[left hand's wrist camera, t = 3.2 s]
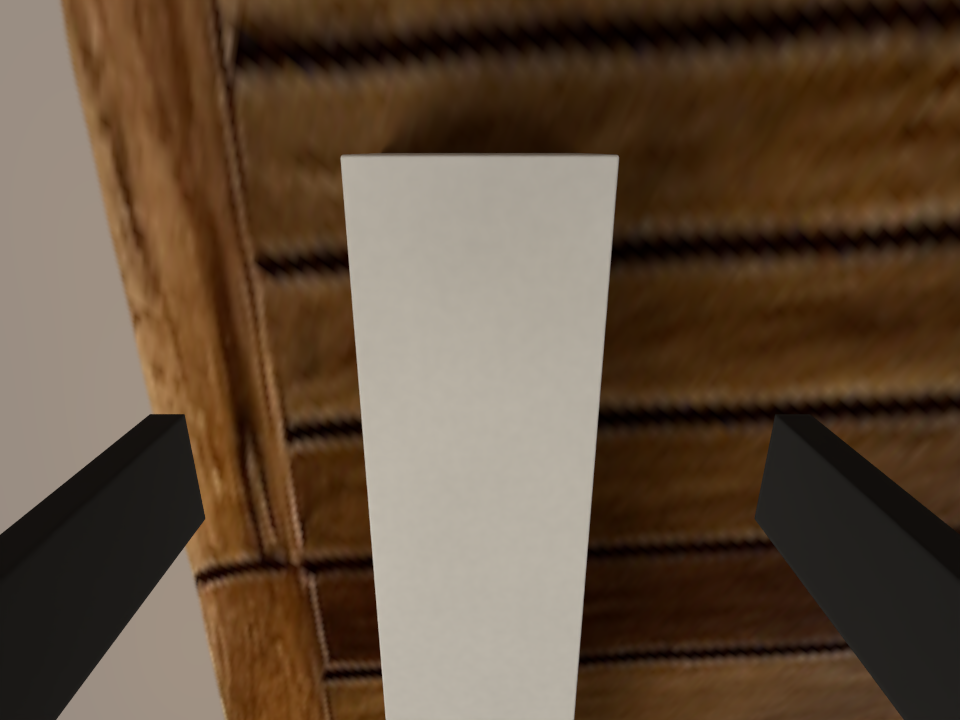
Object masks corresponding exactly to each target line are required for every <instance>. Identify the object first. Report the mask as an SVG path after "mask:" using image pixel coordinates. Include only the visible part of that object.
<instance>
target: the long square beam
mask: <svg viewBox="0 0 960 720" xmlns="http://www.w3.org/2000/svg"><path fill="white" fill-rule="evenodd" d="M618 164H619V156H618V155H609V154H585V153H375V154H351V155H342V156H341V169H342V182H343V194H344V206H345V219H346V231H347V244H348V256H349V269H350V281H351V293H352V306H353V318H354V331H355V343H356V356H357V368H358V380H359V393H360V405H361V418H362V430H363V442H364V455H365V467H366V480H367V492H368V505H369V517H370V529H371V542H372V554H373V567H374V579H375V592H376V604H377V616H378V629H379V641H380V654H381V666H382V678H383V691H384V703H385V716H386V720H574V713H575V701H576V688H577V676H578V663H579V651H580V638H581V626H582V614H583V601H584V589H585V576H586V564H587V551H588V539H589V526H590V514H591V501H592V489H593V476H594V464H595V451H596V439H597V426H598V414H599V401H600V389H601V376H602V364H603V351H604V339H605V326H606V314H607V301H608V289H609V276H610V264H611V251H612V239H613V227H614V214H615V202H616V189H617V177H618Z"/></svg>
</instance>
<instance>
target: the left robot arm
mask: <svg viewBox="0 0 960 720" xmlns="http://www.w3.org/2000/svg"><path fill="white" fill-rule="evenodd" d="M204 520H205V514H204V509H203V504H202V499H201V494H200V489H199V484H198V479H197V474H196V469H195V464H194V459H193V454H192V449H191V444H190V439H189V434H188V429H187V424H186V419H185V414H150V415H149V416H147V417H146V418H145V419H144V420H142V421H141V422H140V423H139V424H137V425H136V426H135V427H134V428H132V429H131V430H130V431H129V432H127V433H126V434H125V435H124V436H122V437H121V438H120V439H119V440H118V441H116V442H115V443H114V444H113V445H111V446H110V447H109V448H108V449H106V450H105V451H104V452H103V453H101V454H100V455H99V456H98V457H96V458H95V459H94V460H93V461H91V462H90V463H89V464H88V465H86V466H85V467H84V468H83V469H81V470H80V471H79V472H78V473H77V474H75V475H74V476H73V477H72V478H70V479H69V480H68V481H67V482H65V483H64V484H63V485H62V486H60V487H59V488H58V489H57V490H55V491H54V492H53V493H52V494H50V495H49V496H48V497H47V498H45V499H44V500H43V501H42V502H40V503H39V504H38V505H37V506H35V507H34V508H33V509H32V510H30V511H29V512H28V513H27V514H25V515H24V516H23V517H22V518H21V519H19V520H18V521H17V522H16V523H14V524H13V525H12V526H11V527H9V528H8V529H7V530H6V531H4V532H3V533H2V534H1V535H0V720H56V719H57V718H58V716H59V715H60V714H61V712H62V711H63V710H64V708H65V707H66V706H67V704H68V703H69V702H70V700H71V699H72V698H73V696H74V695H75V694H76V692H77V691H78V689H79V688H80V687H81V685H82V684H83V683H84V681H85V680H86V679H87V677H88V676H89V675H90V673H91V672H92V671H93V669H94V668H95V667H96V665H97V664H98V663H99V661H100V660H101V659H102V657H103V656H104V654H105V653H106V652H107V650H108V649H109V648H110V646H111V645H112V644H113V642H114V641H115V640H116V638H117V637H118V636H119V634H120V633H121V632H122V630H123V629H124V628H125V626H126V625H127V623H128V622H129V621H130V619H131V618H132V617H133V615H134V614H135V613H136V611H137V610H138V609H139V607H140V606H141V605H142V603H143V602H144V601H145V599H146V598H147V597H148V595H149V594H150V593H151V591H152V590H153V589H154V587H155V586H156V584H157V583H158V582H159V580H160V579H161V578H162V576H163V575H164V574H165V572H166V571H167V570H168V568H169V567H170V566H171V564H172V563H173V562H174V560H175V559H176V558H177V556H178V555H179V553H180V552H181V551H182V549H183V548H184V547H185V545H186V544H187V543H188V541H189V540H190V539H191V537H192V536H193V535H194V533H195V532H196V531H197V529H198V528H199V527H200V525H201V524H202V523H203V521H204ZM755 520H756V521H757V523H758V524H759V525H760V527H761V528H762V529H763V531H764V532H765V533H766V535H767V536H768V537H769V539H770V540H771V541H772V543H773V544H774V545H775V547H776V548H777V549H778V551H779V552H780V554H781V555H782V556H783V558H784V559H785V560H786V562H787V563H788V564H789V566H790V567H791V568H792V570H793V571H794V572H795V574H796V575H797V576H798V578H799V579H800V580H801V582H802V583H803V584H804V586H805V587H806V589H807V590H808V591H809V593H810V594H811V595H812V597H813V598H814V599H815V601H816V602H817V603H818V605H819V606H820V607H821V609H822V610H823V611H824V613H825V614H826V615H827V617H828V618H829V619H830V621H831V622H832V624H833V625H834V626H835V628H836V629H837V630H838V632H839V633H840V634H841V636H842V637H843V638H844V640H845V641H846V642H847V644H848V645H849V646H850V648H851V649H852V650H853V652H854V653H855V654H856V656H857V657H858V659H859V660H860V661H861V663H862V664H863V665H864V667H865V668H866V669H867V671H868V672H869V673H870V675H871V676H872V677H873V679H874V680H875V681H876V683H877V684H878V685H879V687H880V688H881V689H882V691H883V692H884V694H885V695H886V696H887V698H888V699H889V700H890V702H891V703H892V704H893V706H894V707H895V708H896V710H897V711H898V712H899V714H900V715H901V716H902V718H903V719H904V720H960V535H959V534H958V533H957V532H956V531H954V530H953V529H952V528H951V527H949V526H948V525H947V524H946V523H944V522H943V521H942V520H941V519H939V518H938V517H937V516H936V515H935V514H933V513H932V512H931V511H930V510H928V509H927V508H926V507H925V506H923V505H922V504H921V503H920V502H918V501H917V500H916V499H915V498H913V497H912V496H911V495H910V494H908V493H907V492H906V491H905V490H903V489H902V488H901V487H900V486H898V485H897V484H896V483H895V482H893V481H892V480H891V479H890V478H888V477H887V476H886V475H885V474H884V473H882V472H881V471H880V470H879V469H877V468H876V467H875V466H874V465H872V464H871V463H870V462H869V461H867V460H866V459H865V458H864V457H862V456H861V455H860V454H859V453H857V452H856V451H855V450H854V449H852V448H851V447H850V446H849V445H847V444H846V443H845V442H844V441H842V440H841V439H840V438H839V437H838V436H836V435H835V434H834V433H833V432H831V431H830V430H829V429H828V428H826V427H825V426H824V425H823V424H821V423H820V422H819V421H818V420H816V419H815V418H814V417H813V416H811V415H810V414H775V419H774V424H773V429H772V434H771V439H770V444H769V449H768V454H767V459H766V464H765V469H764V474H763V479H762V484H761V489H760V494H759V499H758V504H757V509H756V514H755Z"/></svg>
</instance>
